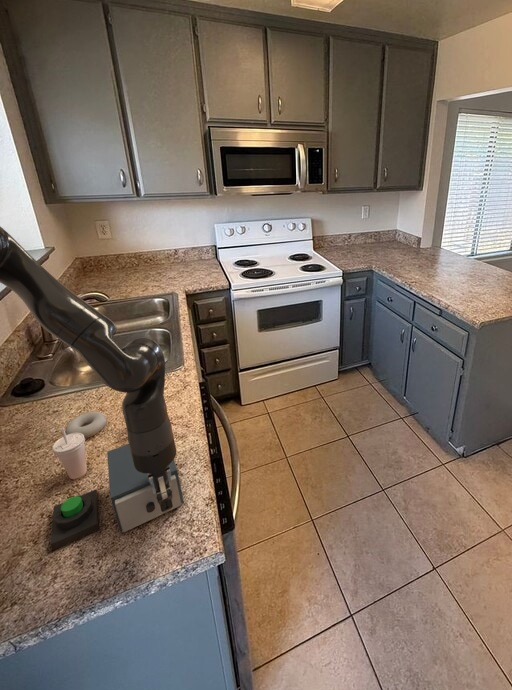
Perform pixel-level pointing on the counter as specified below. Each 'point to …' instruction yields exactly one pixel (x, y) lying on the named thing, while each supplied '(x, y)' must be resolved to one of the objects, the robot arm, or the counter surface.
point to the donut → (91, 418)
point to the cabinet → (128, 476)
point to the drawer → (143, 505)
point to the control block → (75, 521)
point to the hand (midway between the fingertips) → (166, 507)
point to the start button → (72, 506)
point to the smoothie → (71, 453)
